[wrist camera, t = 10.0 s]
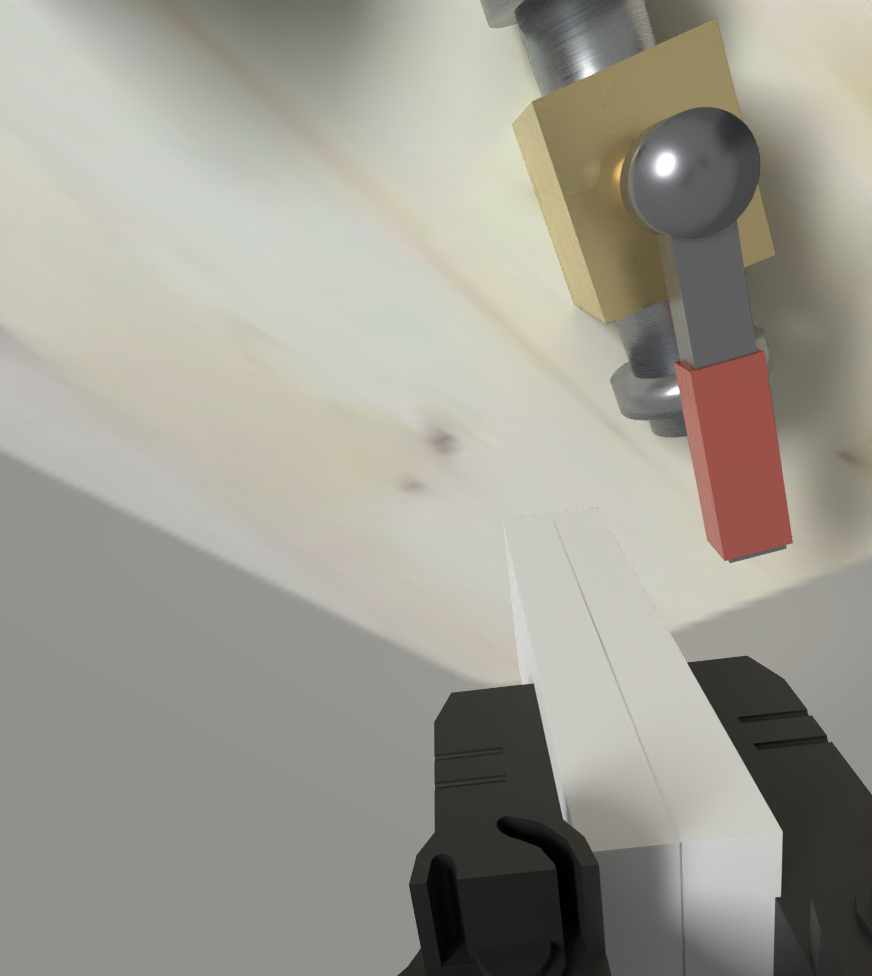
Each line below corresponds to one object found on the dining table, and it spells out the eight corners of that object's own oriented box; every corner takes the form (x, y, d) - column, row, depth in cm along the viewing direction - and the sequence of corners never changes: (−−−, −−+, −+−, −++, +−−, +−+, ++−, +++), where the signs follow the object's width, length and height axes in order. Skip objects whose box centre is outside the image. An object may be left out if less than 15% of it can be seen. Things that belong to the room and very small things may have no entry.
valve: (458, -31, 30) (467, -120, 22) (612, -105, 29) (681, -227, 21) (614, 422, 36) (667, 481, 28) (745, 371, 36) (837, 417, 27)
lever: (609, 136, 24) (626, 129, 22) (722, 100, 24) (750, 89, 22) (690, 546, 29) (710, 572, 27) (785, 521, 28) (813, 546, 26)
